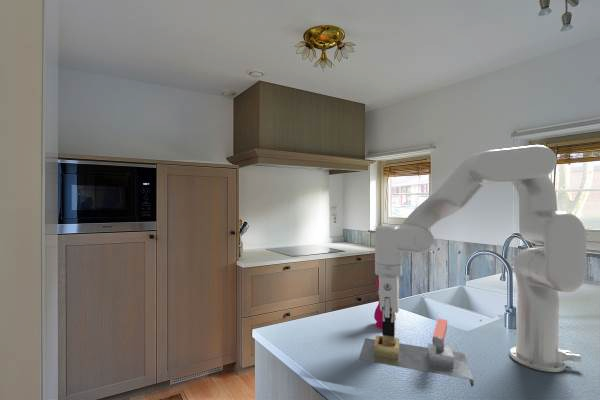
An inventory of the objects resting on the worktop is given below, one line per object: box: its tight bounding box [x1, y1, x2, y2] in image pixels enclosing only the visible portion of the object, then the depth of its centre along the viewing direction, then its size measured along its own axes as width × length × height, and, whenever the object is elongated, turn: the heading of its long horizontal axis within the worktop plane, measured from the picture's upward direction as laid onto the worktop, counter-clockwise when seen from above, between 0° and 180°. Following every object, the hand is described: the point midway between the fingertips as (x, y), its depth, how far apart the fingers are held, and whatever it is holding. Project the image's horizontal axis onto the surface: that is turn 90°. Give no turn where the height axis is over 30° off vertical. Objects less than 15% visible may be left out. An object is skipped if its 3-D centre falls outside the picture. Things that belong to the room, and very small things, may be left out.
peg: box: [382, 309, 396, 346], centre depth 91 cm, size 3×3×12 cm
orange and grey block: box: [431, 318, 448, 352], centre depth 86 cm, size 15×3×6 cm, turn 151°
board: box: [358, 337, 475, 385], centre depth 89 cm, size 28×14×4 cm, turn 71°
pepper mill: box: [373, 277, 397, 330], centre depth 110 cm, size 7×7×20 cm
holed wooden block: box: [374, 334, 400, 360], centre depth 91 cm, size 7×7×3 cm
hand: (388, 332), depth 91 cm, fingers closed on peg, 3 cm apart
